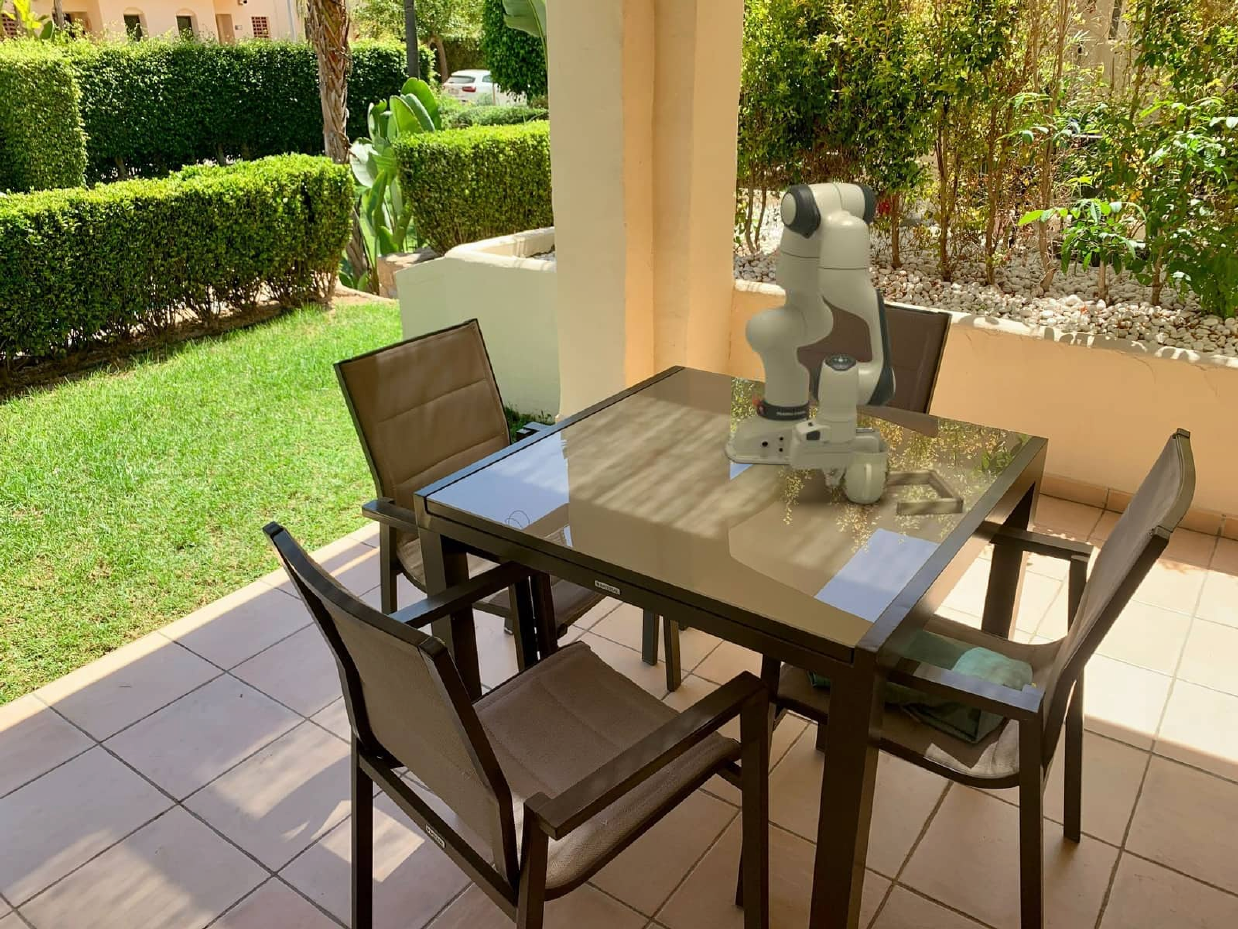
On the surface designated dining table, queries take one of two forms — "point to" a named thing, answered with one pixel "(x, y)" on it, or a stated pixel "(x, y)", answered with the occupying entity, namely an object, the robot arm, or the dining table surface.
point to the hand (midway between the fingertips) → (832, 484)
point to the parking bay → (926, 506)
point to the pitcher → (867, 475)
